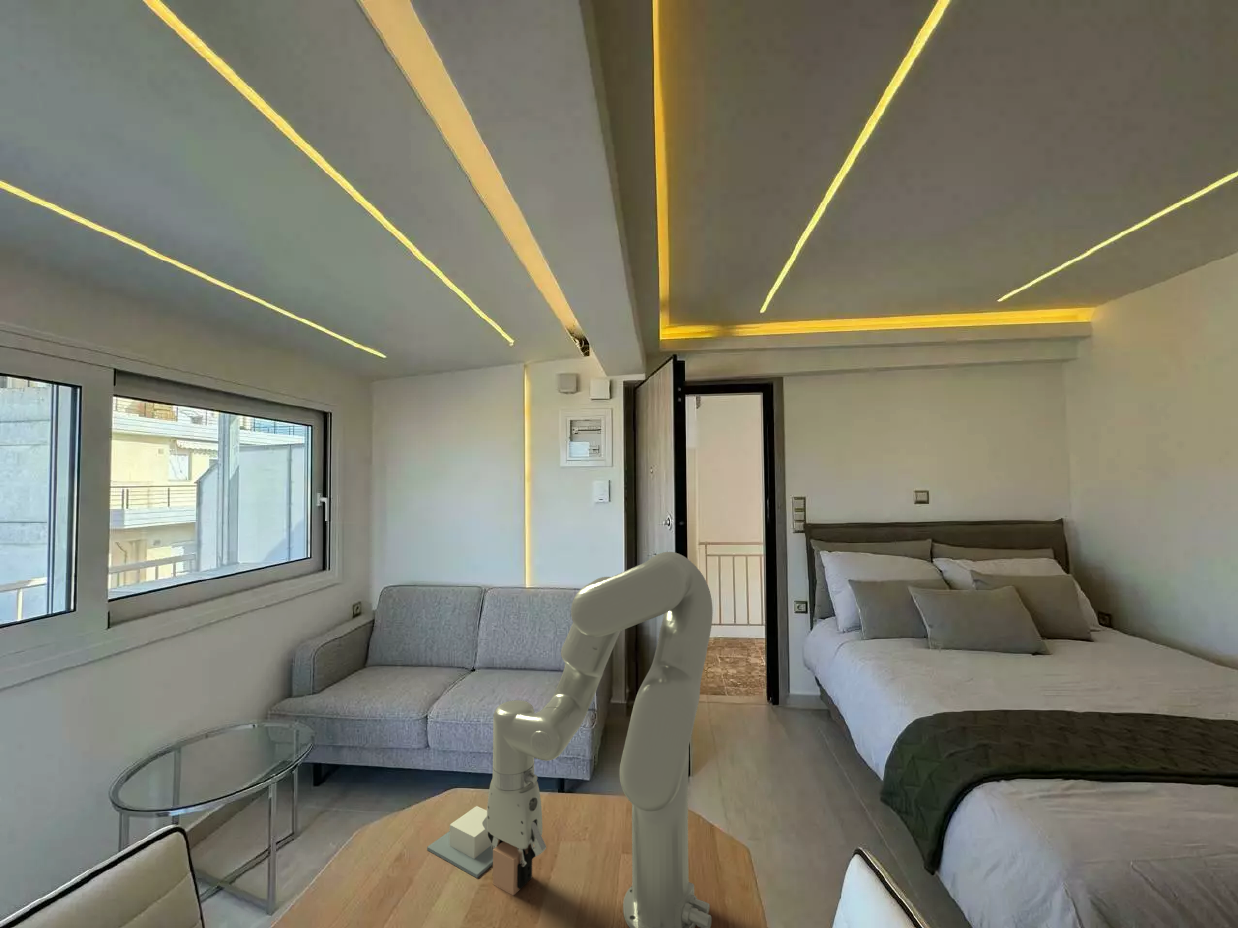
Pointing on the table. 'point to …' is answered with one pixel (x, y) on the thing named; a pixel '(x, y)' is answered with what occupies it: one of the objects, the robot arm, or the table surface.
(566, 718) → the robot arm
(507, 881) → the terracotta block
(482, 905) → the table surface
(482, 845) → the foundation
